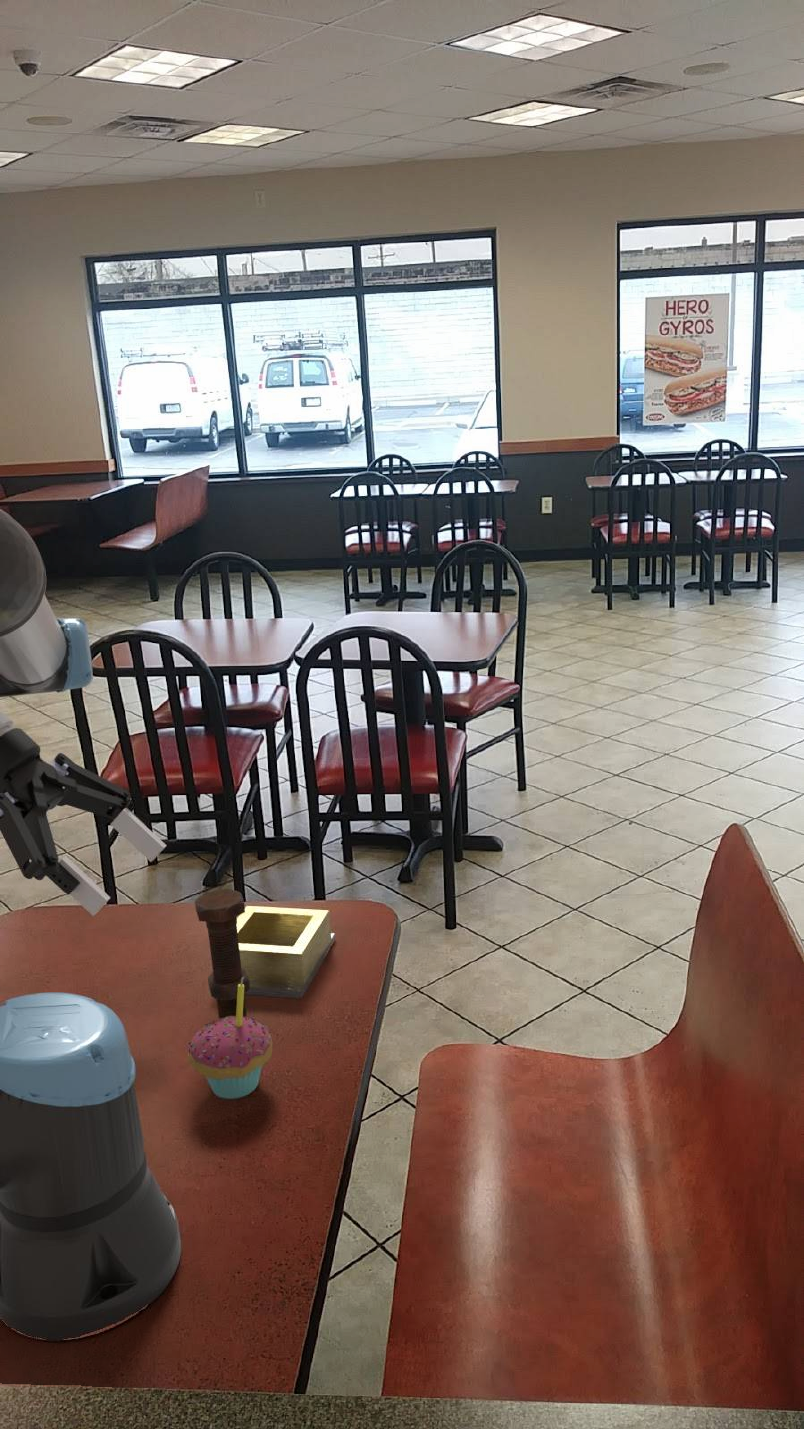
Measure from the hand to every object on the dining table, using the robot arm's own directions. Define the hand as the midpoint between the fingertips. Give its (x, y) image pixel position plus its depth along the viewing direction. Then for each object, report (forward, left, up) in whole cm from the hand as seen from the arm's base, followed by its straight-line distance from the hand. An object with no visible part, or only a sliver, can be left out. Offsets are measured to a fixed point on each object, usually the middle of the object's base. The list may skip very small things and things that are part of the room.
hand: (132, 879), depth 124 cm
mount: (+12, -11, -17) cm, 23 cm away
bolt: (0, -10, -17) cm, 20 cm away
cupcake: (-12, -15, -17) cm, 26 cm away
